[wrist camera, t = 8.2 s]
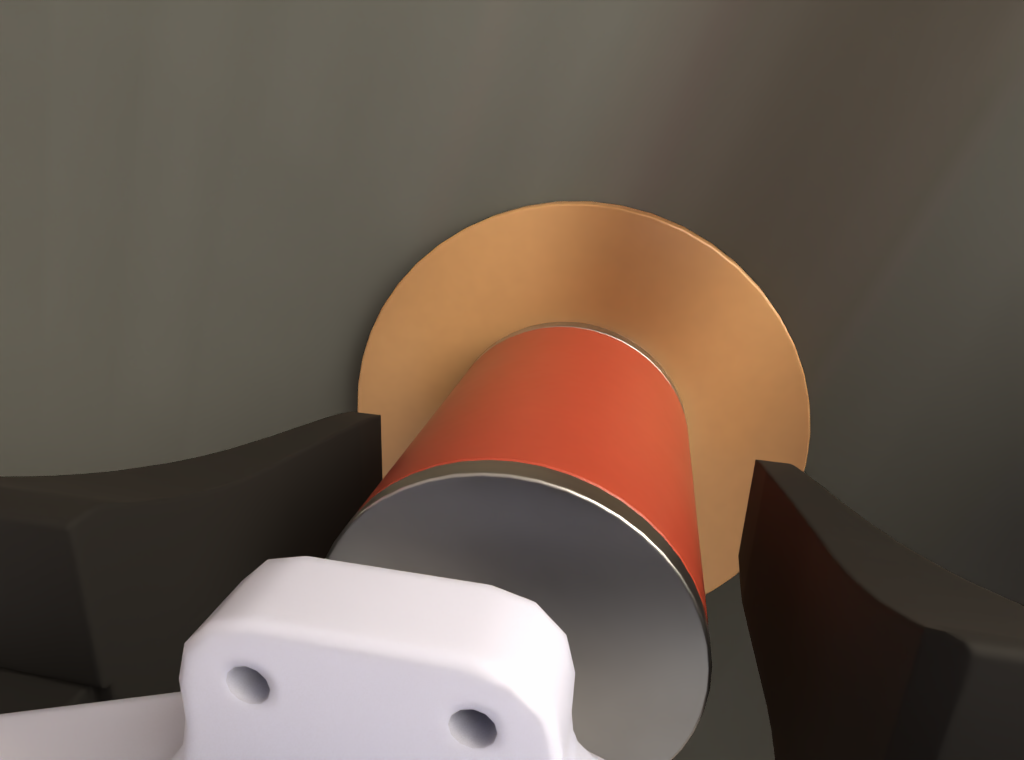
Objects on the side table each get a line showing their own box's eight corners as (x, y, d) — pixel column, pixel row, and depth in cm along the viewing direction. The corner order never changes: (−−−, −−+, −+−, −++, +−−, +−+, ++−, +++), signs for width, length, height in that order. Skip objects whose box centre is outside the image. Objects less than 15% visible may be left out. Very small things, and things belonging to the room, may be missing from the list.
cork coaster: (850, 216, 13) (857, 220, 13) (764, 639, 17) (766, 653, 16) (357, 186, 15) (348, 188, 14) (370, 577, 18) (363, 588, 18)
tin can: (703, 333, 14) (743, 505, 8) (672, 552, 16) (683, 842, 9) (455, 310, 15) (300, 448, 8) (452, 520, 17) (322, 767, 10)
